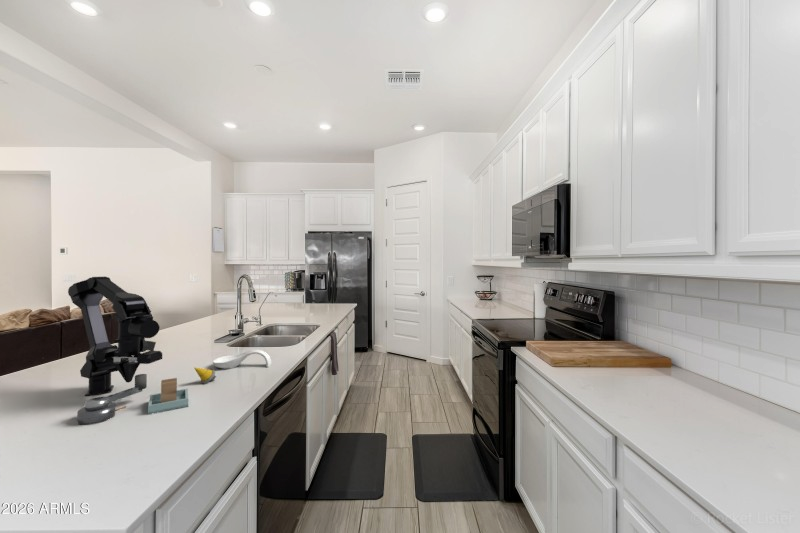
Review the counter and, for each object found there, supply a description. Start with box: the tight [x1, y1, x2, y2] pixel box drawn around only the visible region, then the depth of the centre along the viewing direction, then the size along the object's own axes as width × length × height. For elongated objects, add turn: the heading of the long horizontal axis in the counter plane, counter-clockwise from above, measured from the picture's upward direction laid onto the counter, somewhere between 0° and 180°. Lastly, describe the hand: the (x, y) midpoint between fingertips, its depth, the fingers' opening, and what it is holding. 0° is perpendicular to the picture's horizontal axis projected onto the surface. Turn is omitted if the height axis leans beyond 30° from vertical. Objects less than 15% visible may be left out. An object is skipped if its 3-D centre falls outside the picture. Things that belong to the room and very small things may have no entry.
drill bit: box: [193, 366, 217, 385], centre depth 122 cm, size 5×5×10 cm
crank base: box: [76, 401, 126, 426], centre depth 94 cm, size 9×10×3 cm
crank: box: [84, 373, 148, 411], centre depth 98 cm, size 16×5×5 cm, turn 164°
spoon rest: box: [212, 349, 272, 370], centre depth 142 cm, size 24×12×7 cm, turn 97°
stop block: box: [160, 377, 178, 403], centre depth 103 cm, size 4×4×7 cm
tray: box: [147, 388, 189, 415], centre depth 103 cm, size 10×10×2 cm
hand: (128, 382), depth 106 cm, fingers closed
